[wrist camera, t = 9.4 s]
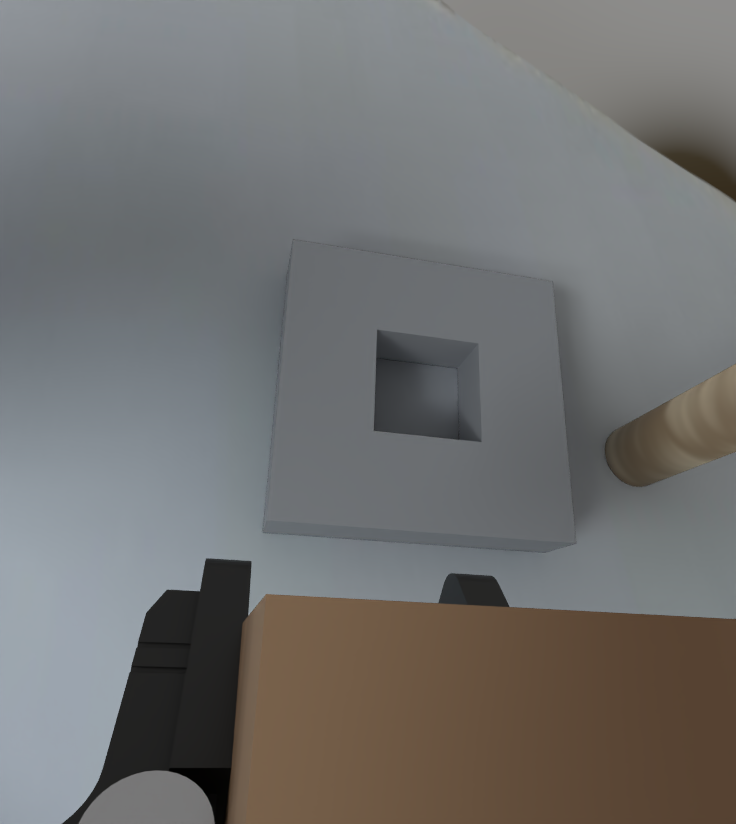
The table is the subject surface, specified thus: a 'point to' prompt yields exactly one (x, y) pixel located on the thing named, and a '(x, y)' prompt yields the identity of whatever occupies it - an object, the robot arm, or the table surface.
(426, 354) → the bore plate
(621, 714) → the walnut bar
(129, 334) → the table surface
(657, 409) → the beech dowel
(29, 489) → the table surface
